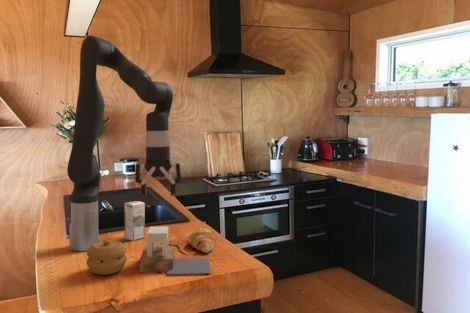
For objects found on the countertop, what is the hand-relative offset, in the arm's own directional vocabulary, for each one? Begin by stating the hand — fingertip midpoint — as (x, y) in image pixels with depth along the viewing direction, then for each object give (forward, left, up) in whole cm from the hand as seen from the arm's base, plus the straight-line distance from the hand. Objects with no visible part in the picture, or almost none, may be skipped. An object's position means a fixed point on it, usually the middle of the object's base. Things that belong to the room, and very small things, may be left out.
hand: (158, 195), depth 125 cm
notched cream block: (0, -1, -19) cm, 19 cm away
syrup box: (-12, +29, -23) cm, 39 cm away
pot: (-15, -6, -23) cm, 28 cm away
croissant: (+14, +18, -23) cm, 33 cm away
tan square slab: (0, -1, -23) cm, 23 cm away
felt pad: (+10, -4, -23) cm, 25 cm away
